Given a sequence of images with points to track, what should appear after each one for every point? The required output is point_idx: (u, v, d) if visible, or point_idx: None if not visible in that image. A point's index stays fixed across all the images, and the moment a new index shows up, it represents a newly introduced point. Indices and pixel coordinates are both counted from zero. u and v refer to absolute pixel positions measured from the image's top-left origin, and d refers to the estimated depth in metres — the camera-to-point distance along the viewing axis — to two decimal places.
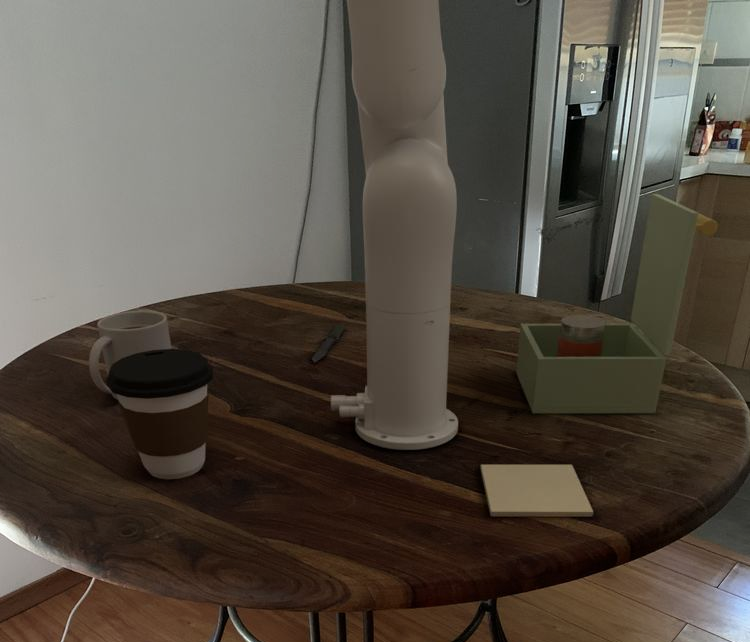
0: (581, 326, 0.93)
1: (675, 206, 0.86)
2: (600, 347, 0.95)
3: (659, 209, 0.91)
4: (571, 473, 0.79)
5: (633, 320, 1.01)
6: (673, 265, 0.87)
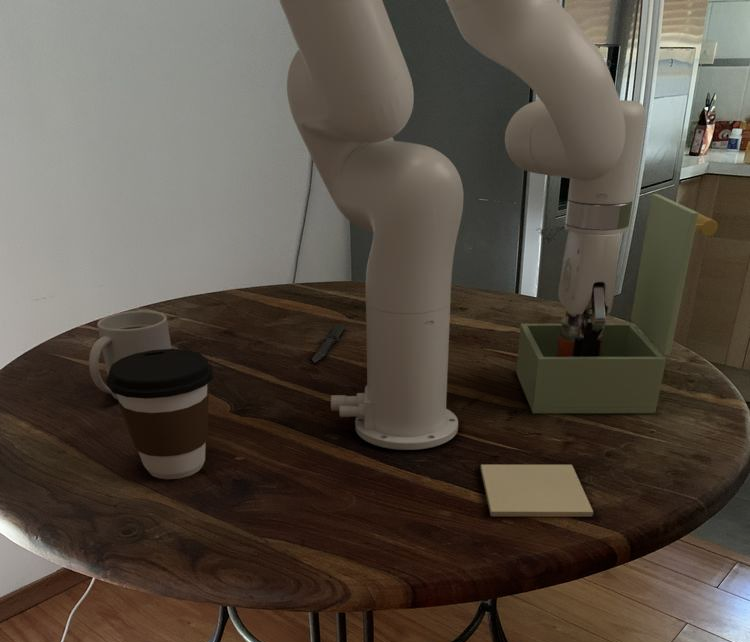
0: None
1: (675, 206, 0.86)
2: (600, 347, 0.95)
3: (659, 209, 0.91)
4: (571, 473, 0.79)
5: (633, 320, 1.01)
6: (673, 265, 0.87)
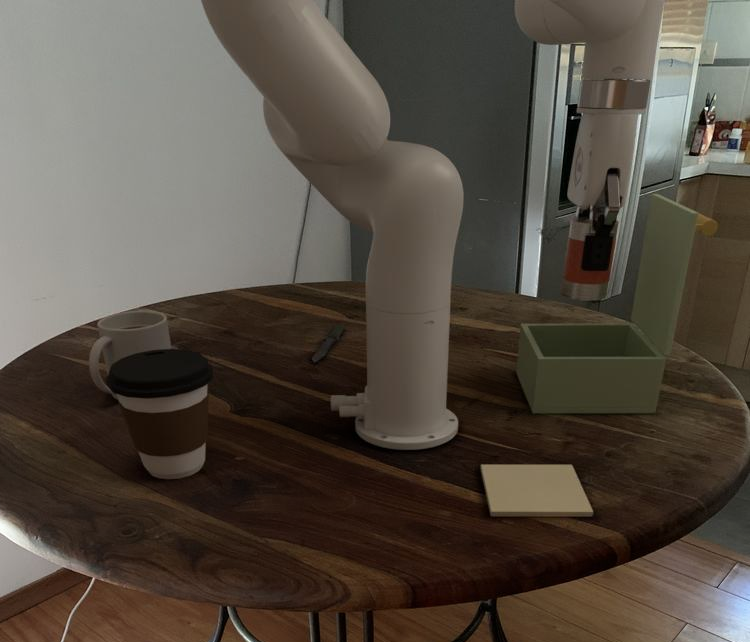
0: None
1: (675, 206, 0.86)
2: (612, 248, 0.88)
3: (659, 209, 0.91)
4: (571, 473, 0.79)
5: (633, 320, 1.01)
6: (673, 265, 0.87)
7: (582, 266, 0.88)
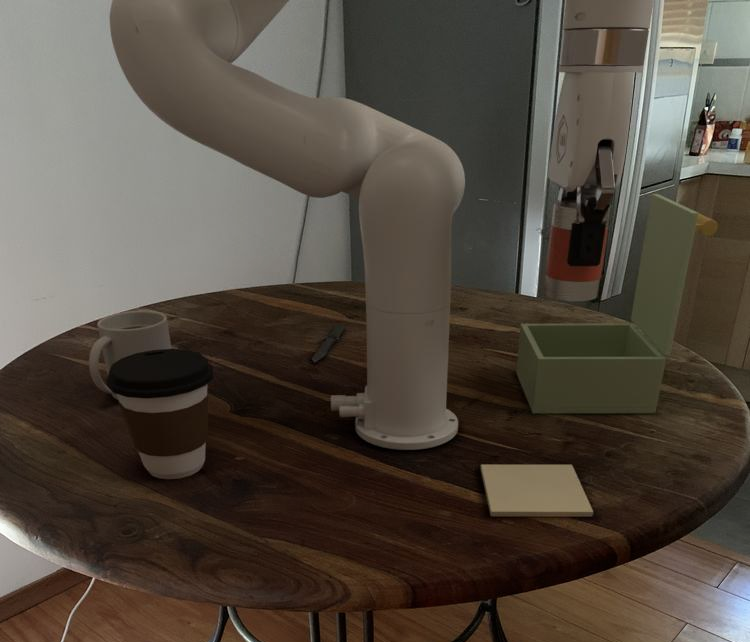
0: None
1: (675, 206, 0.86)
2: (604, 238, 0.73)
3: (659, 209, 0.91)
4: (571, 473, 0.79)
5: (633, 320, 1.01)
6: (673, 265, 0.87)
7: (569, 261, 0.73)
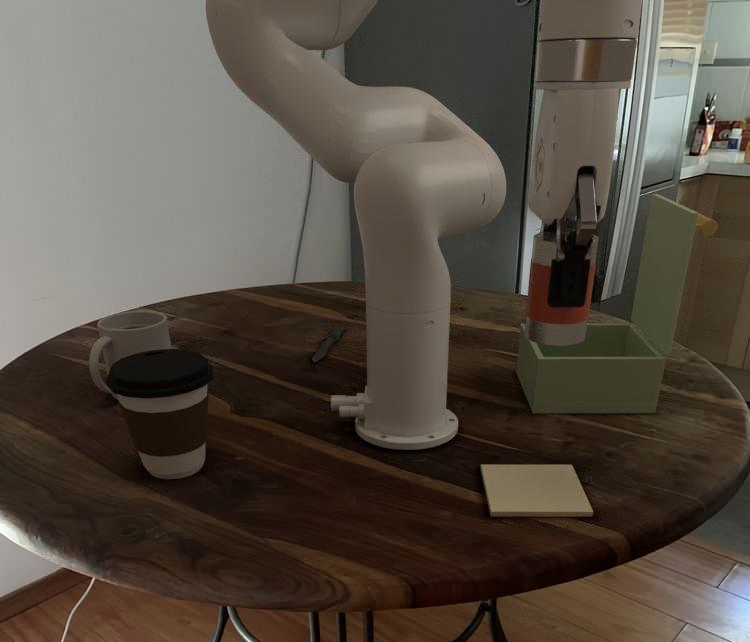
0: None
1: (675, 206, 0.86)
2: (591, 275, 0.65)
3: (659, 209, 0.91)
4: (571, 473, 0.79)
5: (633, 320, 1.01)
6: (673, 265, 0.87)
7: (549, 301, 0.64)
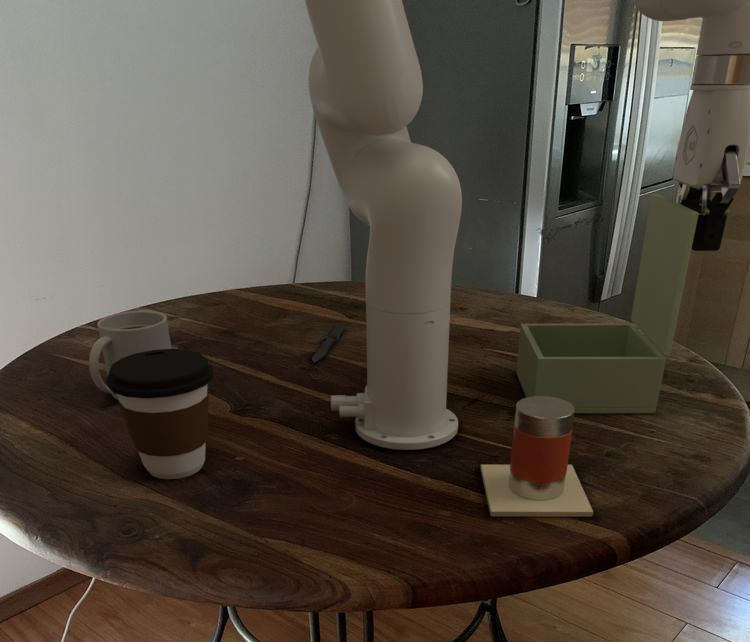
0: (541, 416, 0.70)
1: (675, 206, 0.86)
2: (567, 441, 0.71)
3: (659, 209, 0.91)
4: (571, 473, 0.79)
5: (633, 320, 1.01)
6: (673, 265, 0.87)
7: (693, 246, 0.87)
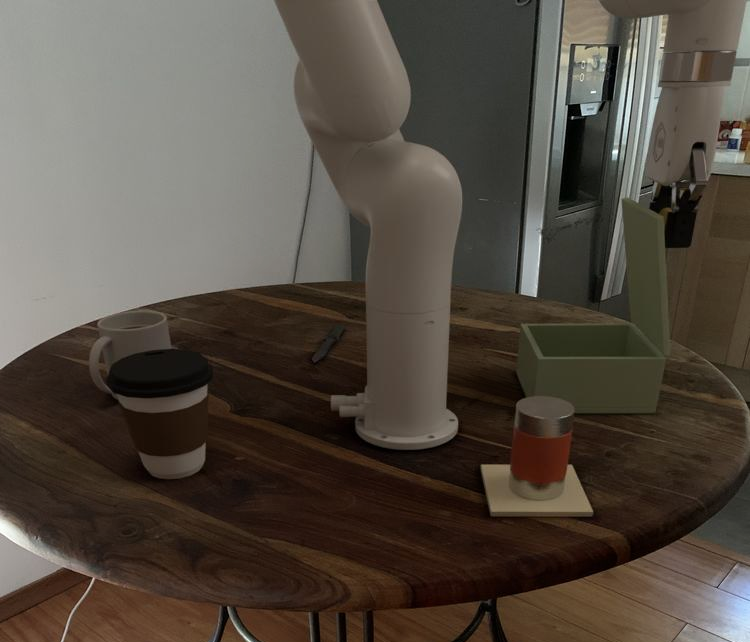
0: (541, 416, 0.70)
1: (642, 211, 0.86)
2: (567, 441, 0.71)
3: (630, 213, 0.92)
4: (571, 473, 0.79)
5: (632, 321, 1.01)
6: (652, 268, 0.87)
7: None
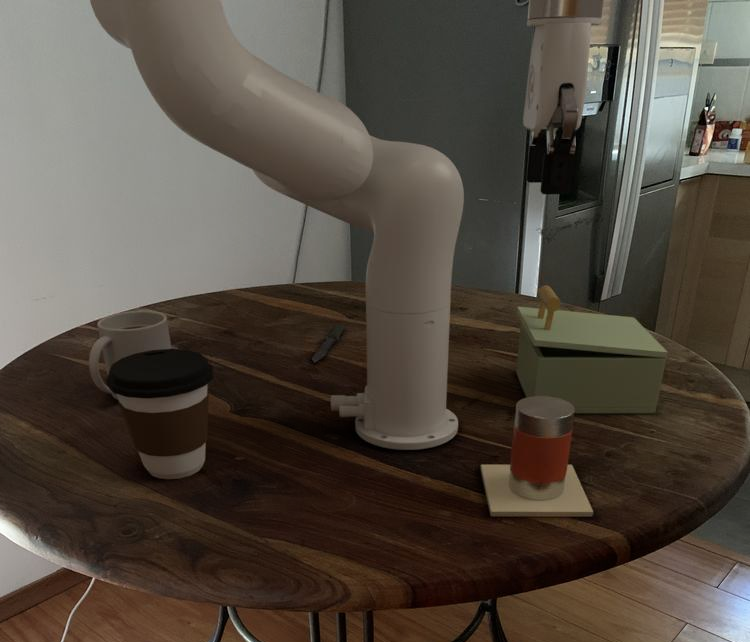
0: (541, 416, 0.70)
1: None
2: (567, 441, 0.71)
3: None
4: (571, 473, 0.79)
5: None
6: None
7: (541, 189, 0.80)
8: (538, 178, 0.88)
